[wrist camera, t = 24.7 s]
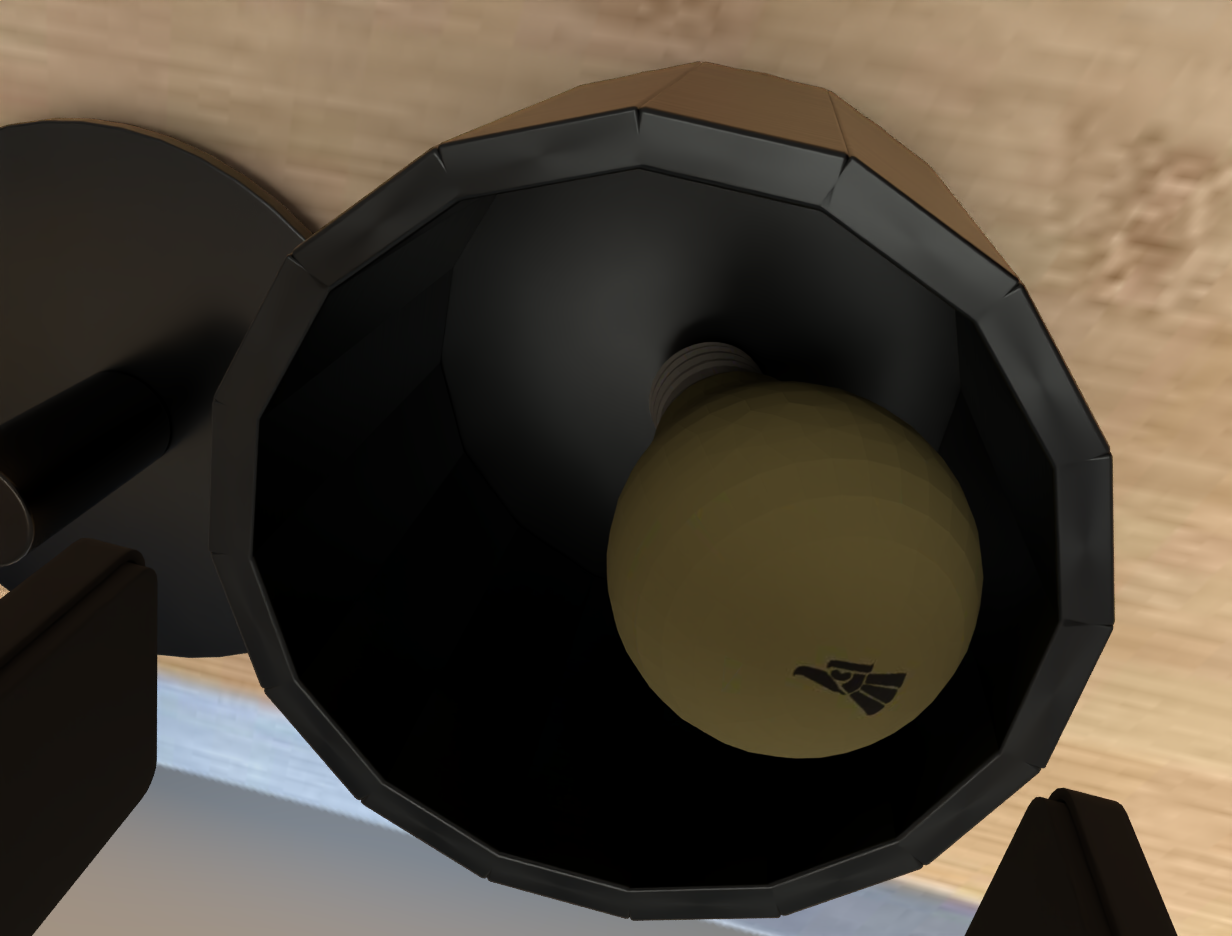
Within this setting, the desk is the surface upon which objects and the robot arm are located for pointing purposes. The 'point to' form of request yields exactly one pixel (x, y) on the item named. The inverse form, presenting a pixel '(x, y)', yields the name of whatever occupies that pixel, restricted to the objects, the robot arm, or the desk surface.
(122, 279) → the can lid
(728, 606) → the light bulb
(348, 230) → the trash can
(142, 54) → the desk surface
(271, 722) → the desk surface
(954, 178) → the desk surface
